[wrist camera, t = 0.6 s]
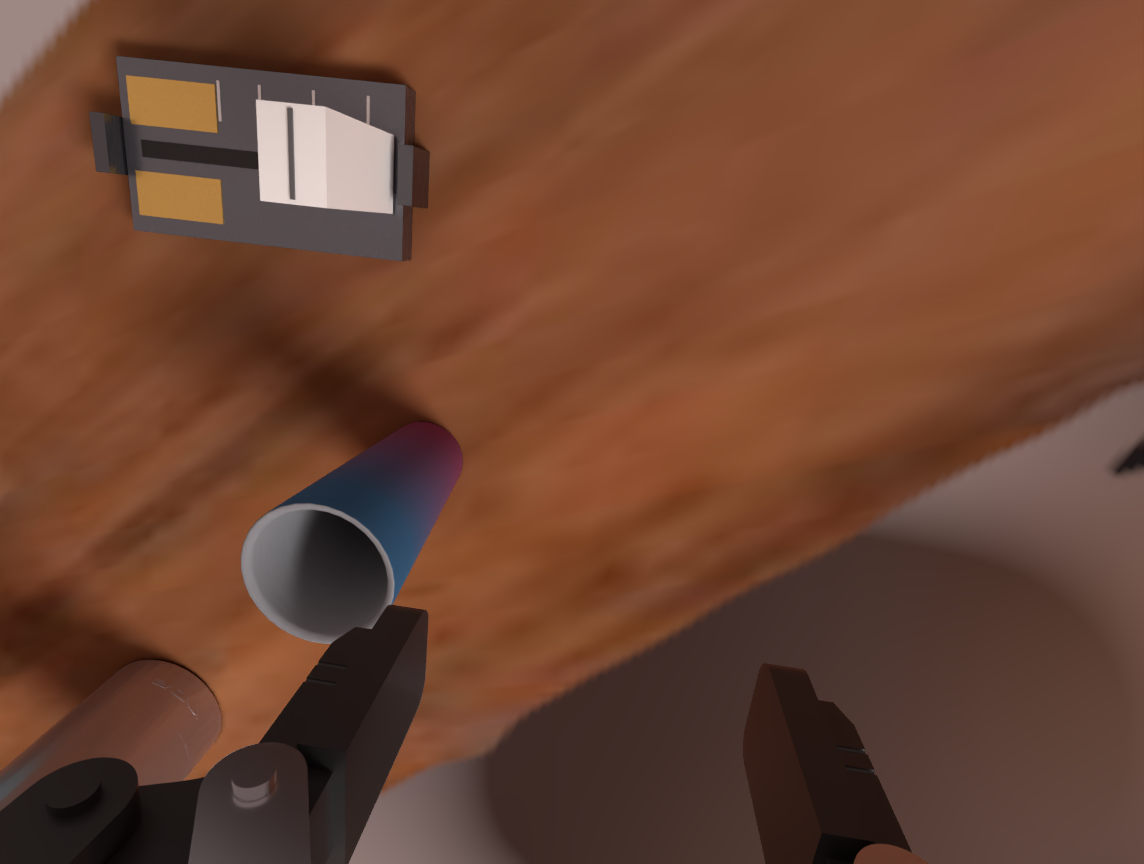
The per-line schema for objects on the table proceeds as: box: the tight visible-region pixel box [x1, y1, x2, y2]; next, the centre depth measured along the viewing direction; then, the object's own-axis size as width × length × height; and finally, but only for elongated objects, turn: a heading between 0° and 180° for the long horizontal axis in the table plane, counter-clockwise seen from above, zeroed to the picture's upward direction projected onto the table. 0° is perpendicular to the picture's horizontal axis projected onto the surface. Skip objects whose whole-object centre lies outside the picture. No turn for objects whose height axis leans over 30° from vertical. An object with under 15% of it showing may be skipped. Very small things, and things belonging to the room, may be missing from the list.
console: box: [89, 56, 430, 261], centre depth 35 cm, size 18×9×3 cm, turn 84°
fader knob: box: [256, 100, 394, 214], centre depth 31 cm, size 3×4×8 cm
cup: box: [241, 422, 463, 644], centre depth 34 cm, size 7×7×15 cm
